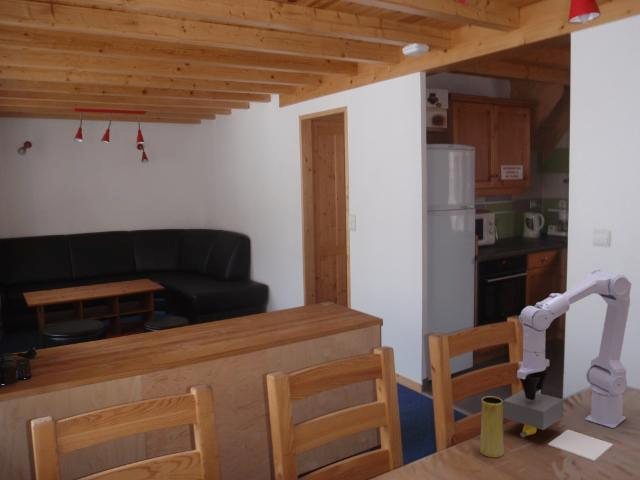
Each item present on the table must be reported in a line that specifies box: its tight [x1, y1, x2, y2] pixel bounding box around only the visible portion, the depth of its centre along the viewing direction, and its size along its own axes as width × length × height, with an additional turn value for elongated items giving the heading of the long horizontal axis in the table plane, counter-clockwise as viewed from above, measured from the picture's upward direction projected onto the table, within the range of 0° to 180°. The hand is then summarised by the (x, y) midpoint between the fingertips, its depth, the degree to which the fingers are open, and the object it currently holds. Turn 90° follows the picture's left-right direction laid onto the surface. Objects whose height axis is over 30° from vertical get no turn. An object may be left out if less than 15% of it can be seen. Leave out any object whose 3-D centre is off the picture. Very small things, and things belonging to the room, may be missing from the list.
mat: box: [547, 429, 614, 462], centre depth 146 cm, size 12×12×1 cm
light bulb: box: [519, 424, 538, 439], centre depth 153 cm, size 3×6×4 cm, turn 126°
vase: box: [479, 395, 505, 458], centre depth 143 cm, size 6×6×14 cm
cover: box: [502, 388, 564, 431], centre depth 153 cm, size 12×12×8 cm
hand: (533, 396), depth 153 cm, fingers closed on cover, 3 cm apart
